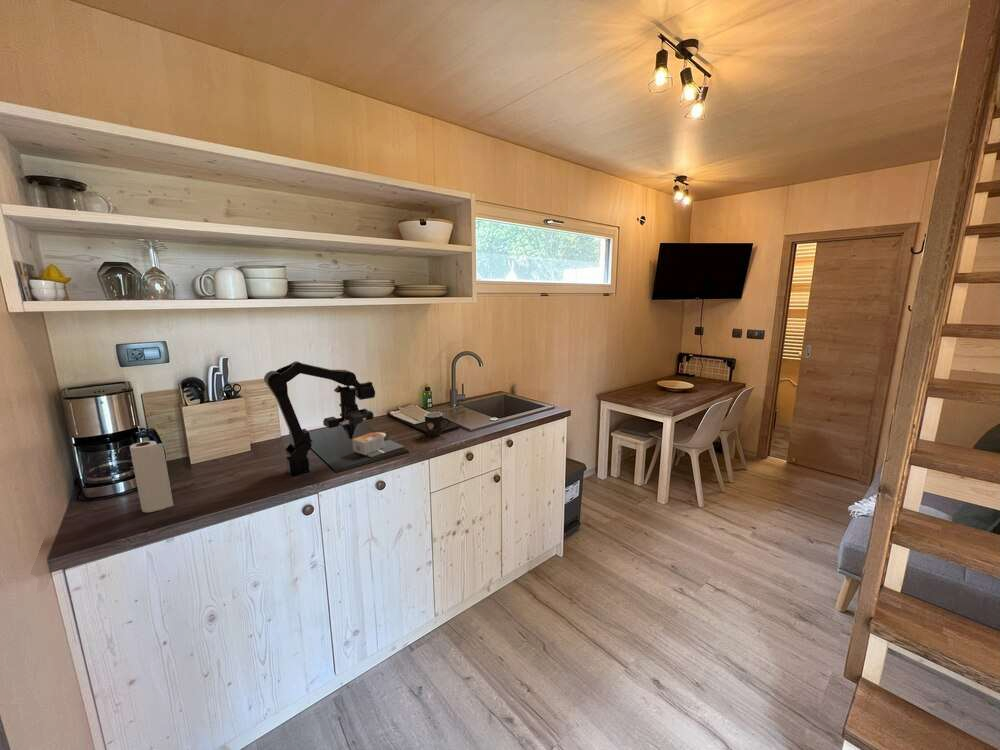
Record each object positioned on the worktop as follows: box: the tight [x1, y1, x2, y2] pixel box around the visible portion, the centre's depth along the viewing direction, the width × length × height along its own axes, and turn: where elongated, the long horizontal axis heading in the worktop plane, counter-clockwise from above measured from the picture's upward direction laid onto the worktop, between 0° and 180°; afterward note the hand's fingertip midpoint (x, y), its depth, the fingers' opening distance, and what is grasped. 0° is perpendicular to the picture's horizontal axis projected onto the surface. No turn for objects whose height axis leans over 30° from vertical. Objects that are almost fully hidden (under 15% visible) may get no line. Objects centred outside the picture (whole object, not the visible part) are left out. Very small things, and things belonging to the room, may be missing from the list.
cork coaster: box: [374, 431, 387, 438], centre depth 189 cm, size 9×9×1 cm
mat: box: [365, 439, 405, 459], centre depth 173 cm, size 16×12×1 cm
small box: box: [351, 432, 385, 456], centre depth 171 cm, size 8×6×10 cm
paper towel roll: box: [129, 440, 174, 513], centre depth 123 cm, size 7×6×21 cm
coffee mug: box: [423, 411, 450, 438], centre depth 190 cm, size 12×9×10 cm
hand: (350, 438), depth 163 cm, fingers closed
